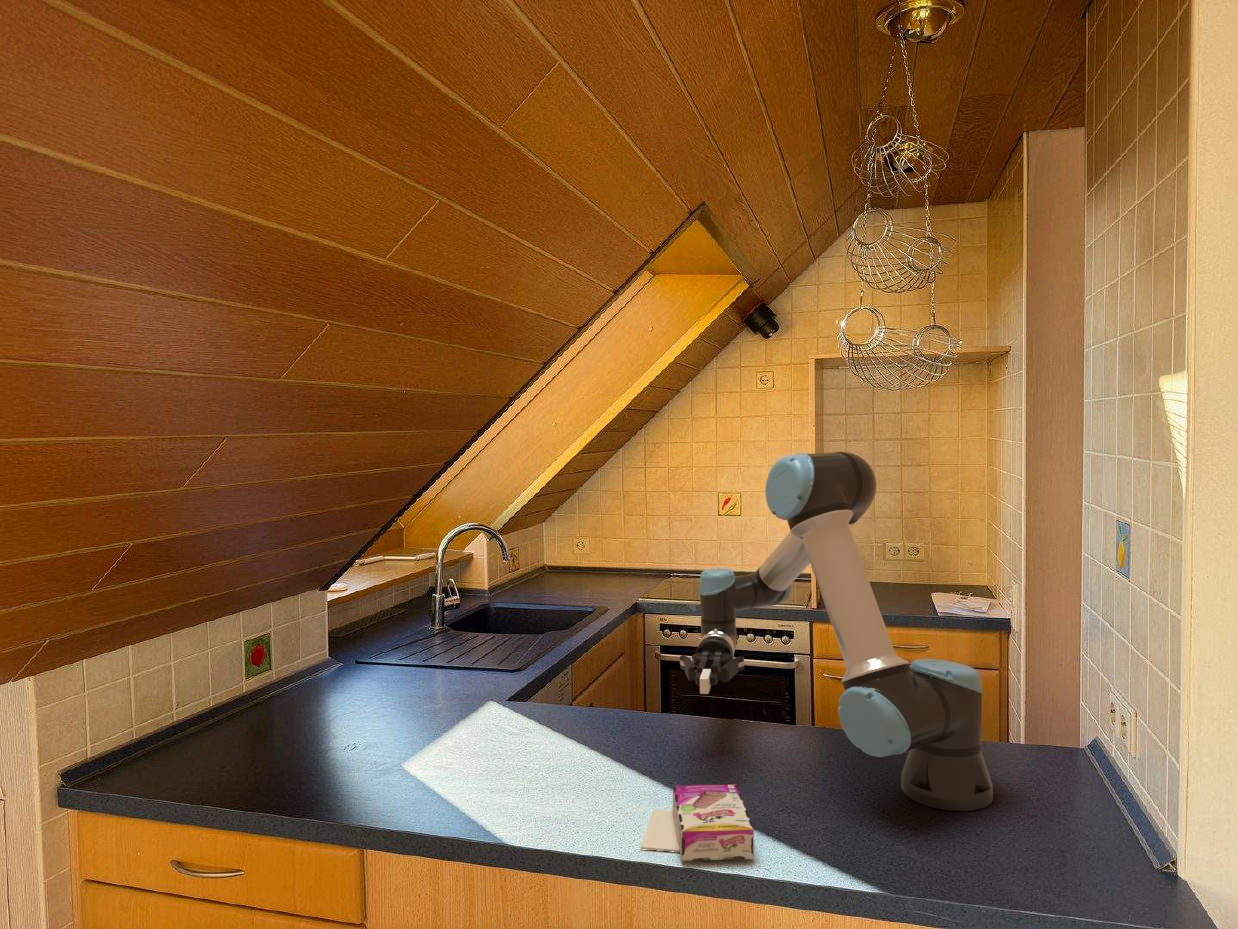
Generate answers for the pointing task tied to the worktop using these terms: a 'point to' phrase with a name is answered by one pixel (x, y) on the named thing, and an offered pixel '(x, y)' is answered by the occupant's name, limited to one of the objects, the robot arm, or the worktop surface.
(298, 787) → the worktop surface
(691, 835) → the candy bar box
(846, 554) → the robot arm
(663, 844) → the mat
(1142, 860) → the worktop surface
